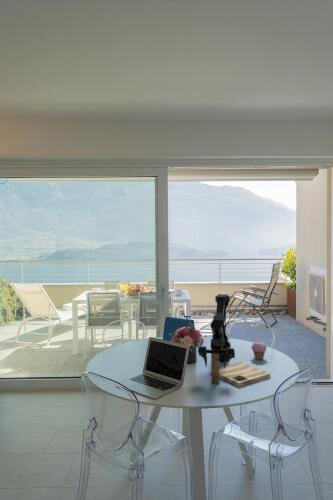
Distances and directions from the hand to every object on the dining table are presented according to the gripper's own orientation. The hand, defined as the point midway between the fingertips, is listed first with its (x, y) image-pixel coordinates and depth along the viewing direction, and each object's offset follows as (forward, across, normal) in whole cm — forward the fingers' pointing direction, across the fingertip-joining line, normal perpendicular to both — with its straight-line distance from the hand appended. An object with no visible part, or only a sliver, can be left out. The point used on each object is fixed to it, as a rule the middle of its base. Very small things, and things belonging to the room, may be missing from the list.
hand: (215, 367), depth 205 cm
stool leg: (+5, 0, +6) cm, 8 cm away
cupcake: (-24, +21, +36) cm, 48 cm away
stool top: (-4, +12, +15) cm, 19 cm away
